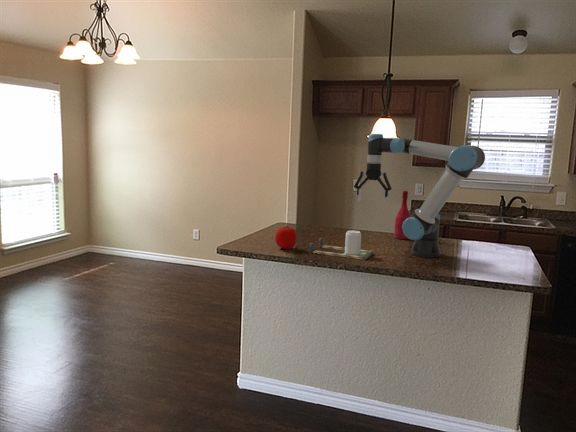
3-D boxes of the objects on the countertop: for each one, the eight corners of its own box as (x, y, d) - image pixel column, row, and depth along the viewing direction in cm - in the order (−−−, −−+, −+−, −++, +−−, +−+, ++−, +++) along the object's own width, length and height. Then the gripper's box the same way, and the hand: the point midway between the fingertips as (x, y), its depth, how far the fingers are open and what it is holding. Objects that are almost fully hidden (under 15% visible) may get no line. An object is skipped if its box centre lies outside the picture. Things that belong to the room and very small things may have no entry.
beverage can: (359, 256, 243) (361, 233, 241) (344, 255, 245) (345, 232, 243) (360, 252, 251) (361, 230, 249) (345, 251, 252) (346, 229, 250)
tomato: (300, 249, 256) (301, 226, 254) (286, 252, 248) (287, 228, 246) (284, 245, 265) (285, 223, 262) (269, 248, 256) (270, 225, 254)
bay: (372, 253, 252) (373, 244, 251) (365, 260, 237) (365, 250, 236) (319, 246, 264) (320, 237, 263) (309, 252, 248) (309, 243, 247)
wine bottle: (412, 238, 296) (415, 190, 291) (406, 240, 288) (410, 192, 283) (397, 236, 301) (400, 189, 296) (391, 238, 293) (394, 190, 288)
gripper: (398, 163, 251) (395, 203, 255) (353, 161, 261) (351, 199, 264) (396, 164, 244) (393, 204, 248) (349, 162, 254) (347, 200, 257)
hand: (371, 201), depth 256 cm, fingers open, 13 cm apart
